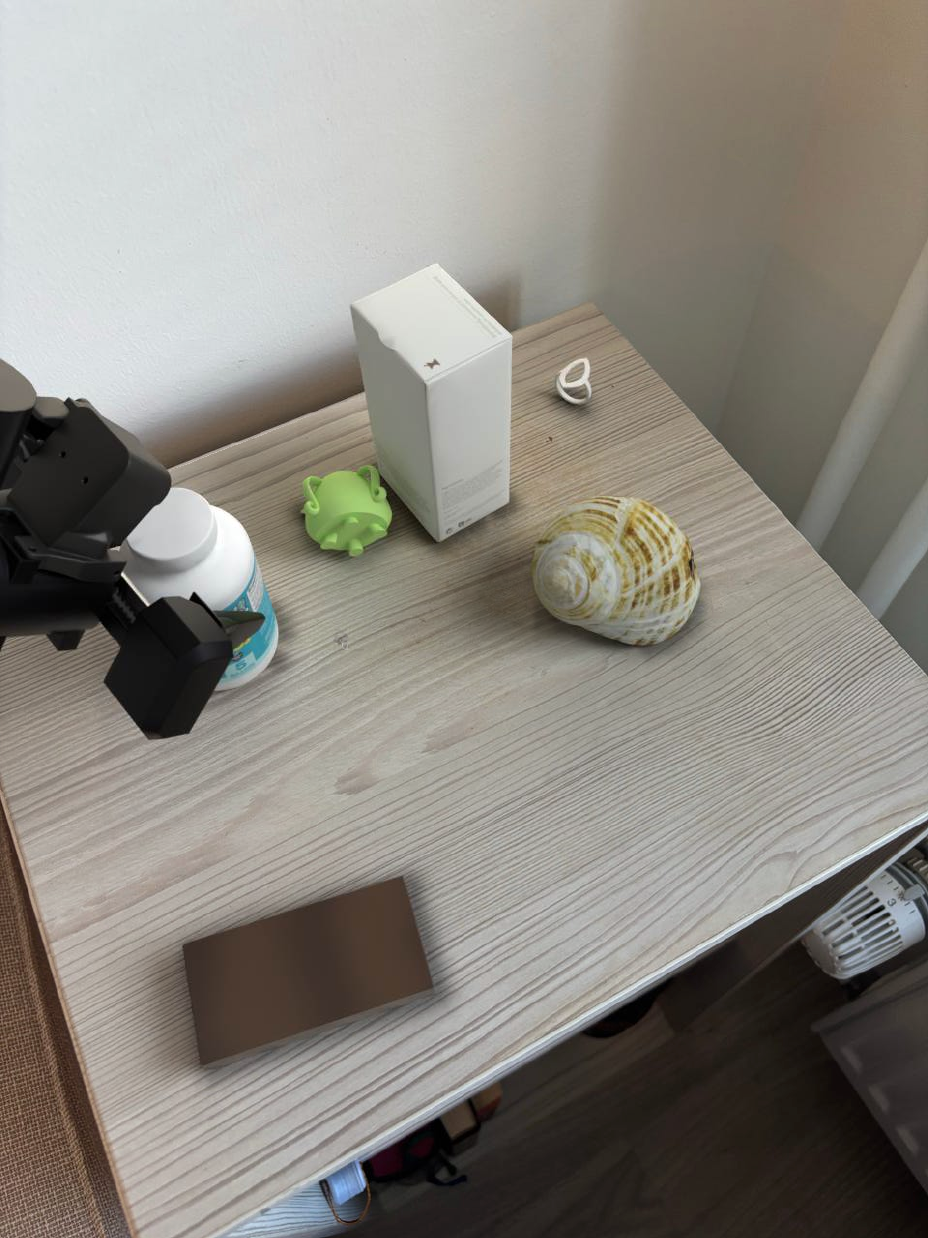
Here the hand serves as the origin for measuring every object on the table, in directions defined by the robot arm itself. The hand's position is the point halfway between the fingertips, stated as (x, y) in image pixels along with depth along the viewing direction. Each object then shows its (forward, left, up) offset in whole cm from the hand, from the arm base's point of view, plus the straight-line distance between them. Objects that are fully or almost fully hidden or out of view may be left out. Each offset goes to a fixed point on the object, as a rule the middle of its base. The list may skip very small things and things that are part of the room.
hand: (216, 572), depth 54 cm
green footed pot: (+9, +5, -7) cm, 13 cm away
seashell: (+24, -5, -7) cm, 25 cm away
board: (0, -22, -7) cm, 23 cm away
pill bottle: (-1, -1, -7) cm, 7 cm away
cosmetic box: (+16, +7, -7) cm, 19 cm away
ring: (+28, +12, -7) cm, 31 cm away
